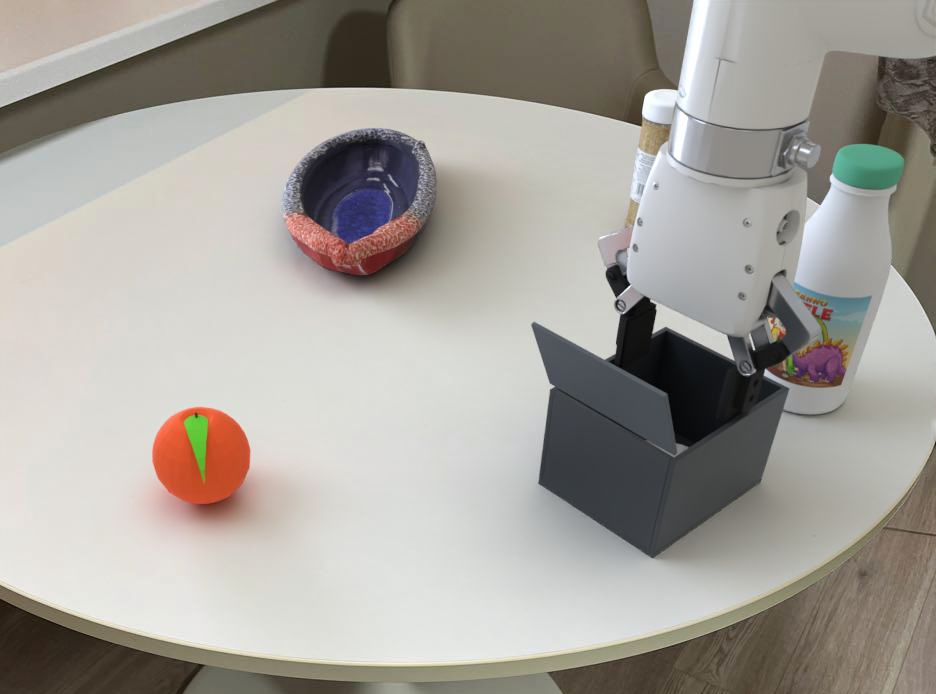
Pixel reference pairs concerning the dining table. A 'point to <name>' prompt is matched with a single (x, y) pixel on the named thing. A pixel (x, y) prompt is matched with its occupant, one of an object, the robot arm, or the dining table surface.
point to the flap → (607, 388)
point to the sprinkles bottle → (650, 142)
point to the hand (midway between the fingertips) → (680, 385)
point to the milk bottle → (841, 278)
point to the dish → (360, 199)
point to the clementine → (201, 455)
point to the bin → (649, 468)
